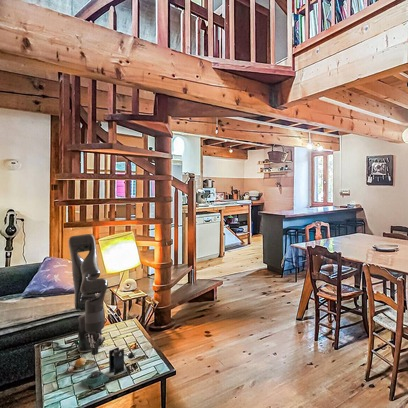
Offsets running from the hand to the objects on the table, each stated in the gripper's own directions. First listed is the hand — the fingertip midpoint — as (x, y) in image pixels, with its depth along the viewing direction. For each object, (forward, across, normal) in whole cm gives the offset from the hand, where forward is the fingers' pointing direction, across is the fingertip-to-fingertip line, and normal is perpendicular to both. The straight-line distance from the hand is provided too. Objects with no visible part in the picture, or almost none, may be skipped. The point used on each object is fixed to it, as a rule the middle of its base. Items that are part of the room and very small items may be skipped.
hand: (94, 354), depth 155 cm
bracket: (+15, +1, +10) cm, 18 cm away
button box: (+15, 0, 0) cm, 15 cm away
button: (+11, 0, 0) cm, 11 cm away
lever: (+8, +1, +13) cm, 15 cm away
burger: (+15, -20, +5) cm, 25 cm away
